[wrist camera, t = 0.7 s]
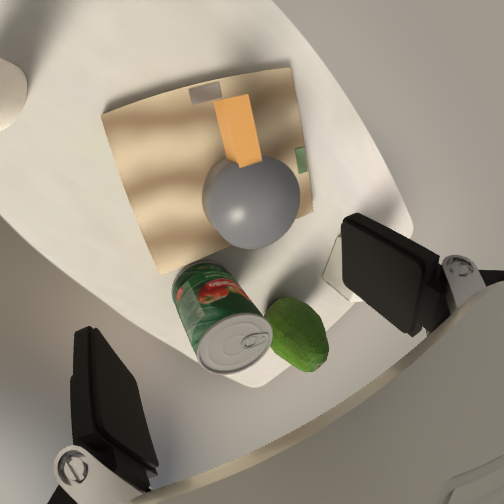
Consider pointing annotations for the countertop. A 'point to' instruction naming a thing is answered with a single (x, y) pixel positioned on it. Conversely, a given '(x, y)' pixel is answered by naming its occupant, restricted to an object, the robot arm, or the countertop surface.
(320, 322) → the avocado
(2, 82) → the cylindrical container
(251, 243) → the grey paddle
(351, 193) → the countertop surface
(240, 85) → the plate
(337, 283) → the medicine bottle
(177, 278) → the canned tomato
